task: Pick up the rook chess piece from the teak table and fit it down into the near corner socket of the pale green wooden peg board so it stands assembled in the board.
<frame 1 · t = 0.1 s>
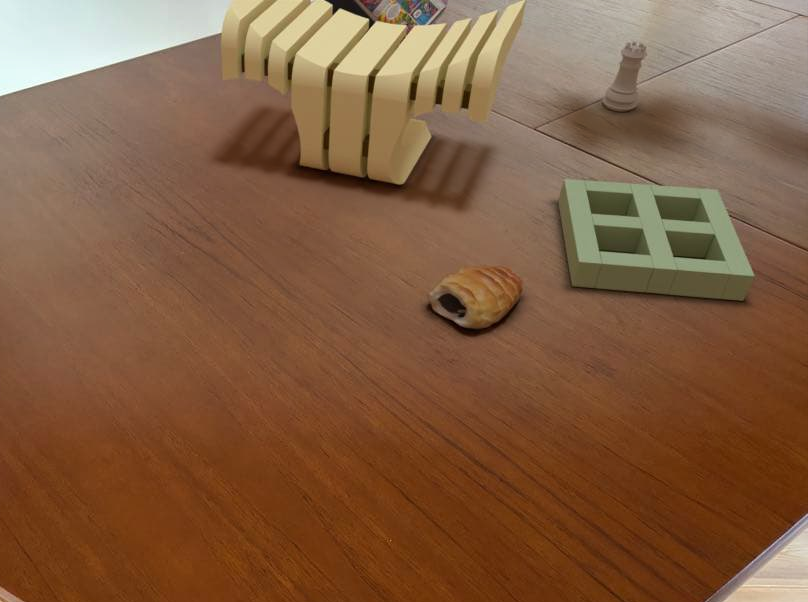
book: (377, 65, 126), on the table
rook chess piece: (618, 106, 116), on the table
bread basket: (363, 156, 106), on the table
peg board: (643, 248, 91), on the table
pastry: (473, 308, 84), on the table
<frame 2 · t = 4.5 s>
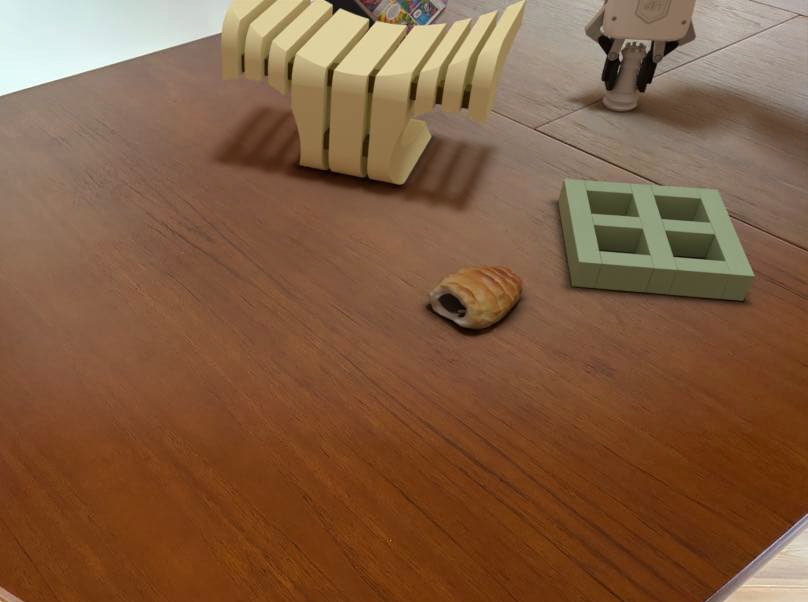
hand: (624, 86, 114), 3 cm above the table, tool pointing down, fingers closed on rook chess piece, 3 cm apart
rook chess piece: (618, 106, 116), on the table, touching gripper
everything else where it was.
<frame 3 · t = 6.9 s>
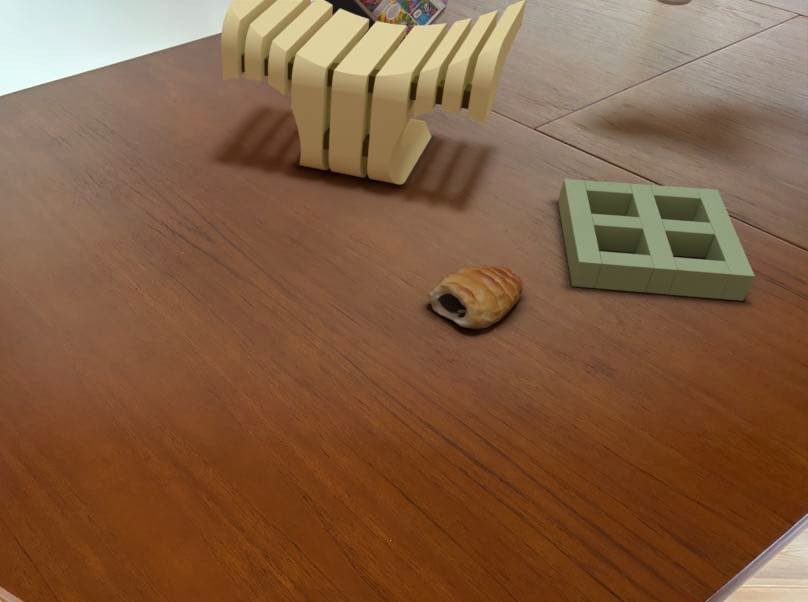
rook chess piece: (671, 1, 99), point 16 cm above the table, touching gripper
everything else where it was.
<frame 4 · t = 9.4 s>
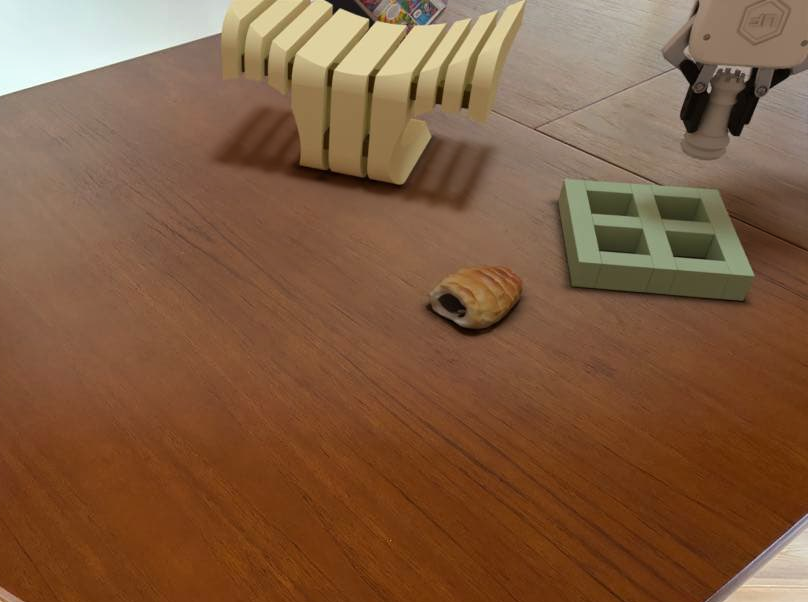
hand: (710, 126, 85), 12 cm above the table, tool pointing down, fingers closed on rook chess piece, 3 cm apart
rook chess piece: (700, 153, 87), point 9 cm above the table, touching gripper
everything else where it was.
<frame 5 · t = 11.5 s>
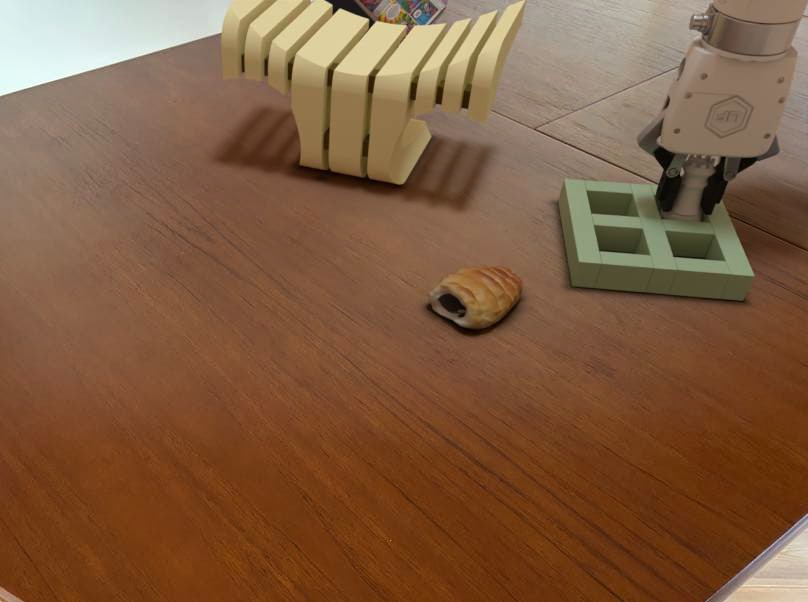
hand: (684, 205, 91), 3 cm above the table, tool pointing down, fingers closed on rook chess piece, 3 cm apart
rook chess piece: (676, 228, 93), resting in peg board, touching gripper
everything else where it was.
when the fingers open (4 cm above the table, at t = 14.6 s): rook chess piece drops 1 cm, resting in peg board.
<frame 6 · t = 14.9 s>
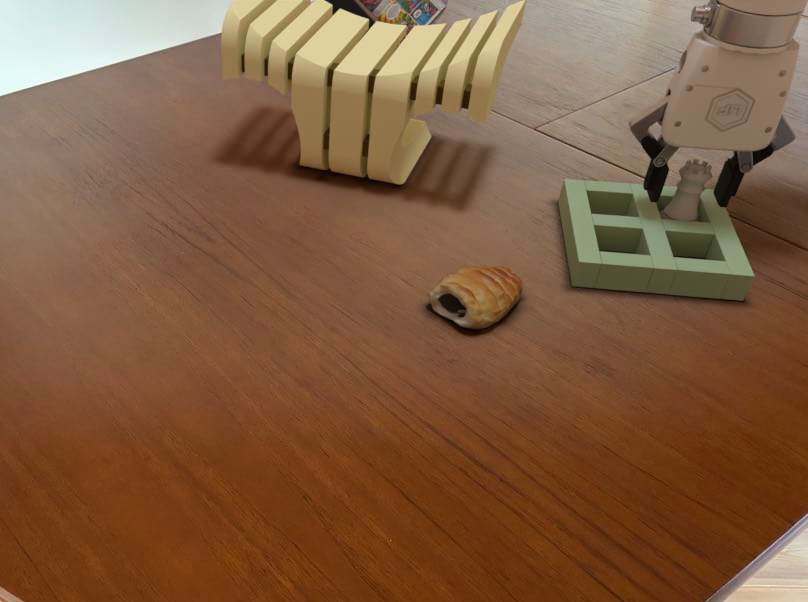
hand: (685, 196, 90), 4 cm above the table, tool pointing down, fingers open, 6 cm apart
rook chess piece: (672, 233, 93), resting in peg board
everything else where it was.
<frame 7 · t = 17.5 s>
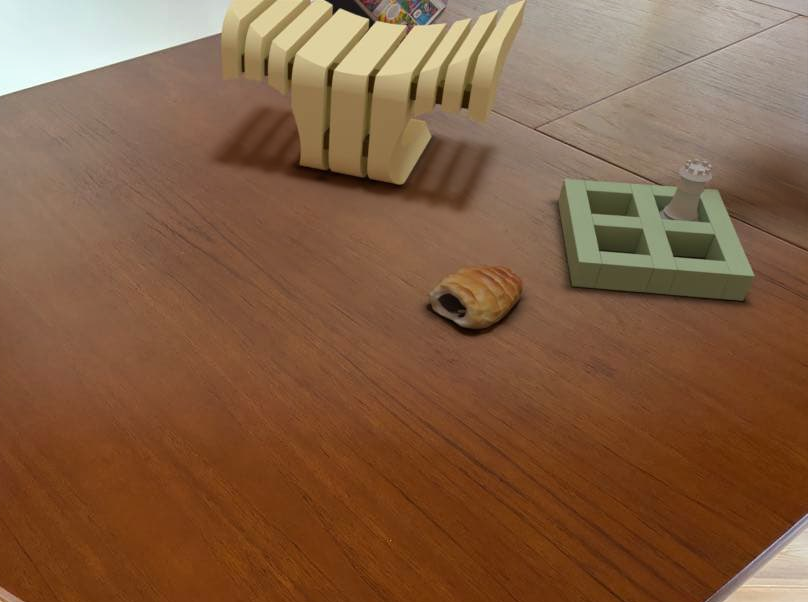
nothing on the table moved.
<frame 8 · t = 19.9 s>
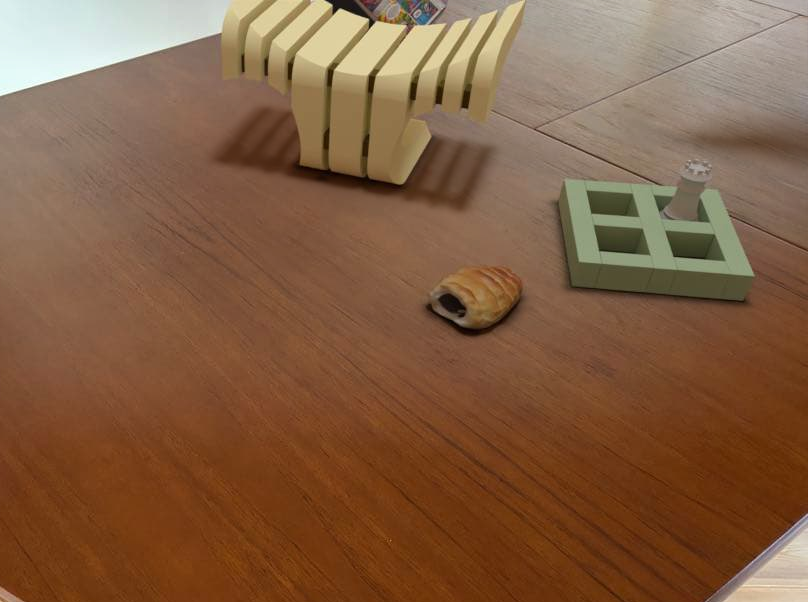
nothing on the table moved.
at the end: rook chess piece 0.2 cm from the target spot in the peg board, point 0.0 cm above the peg board's base; rook chess piece tilted 0°; the gripper is holding nothing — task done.
